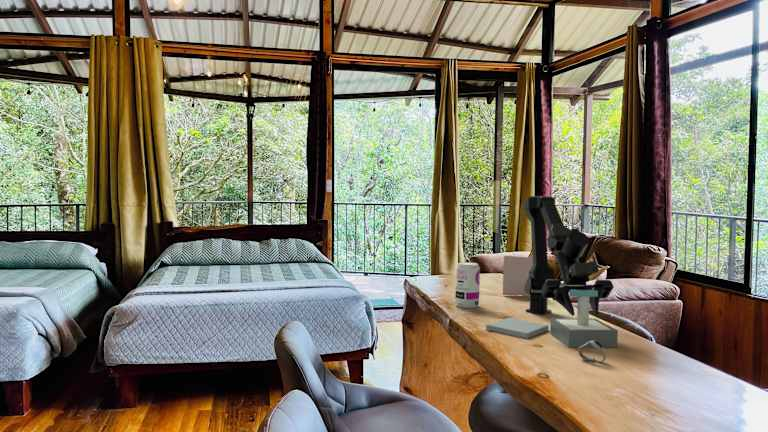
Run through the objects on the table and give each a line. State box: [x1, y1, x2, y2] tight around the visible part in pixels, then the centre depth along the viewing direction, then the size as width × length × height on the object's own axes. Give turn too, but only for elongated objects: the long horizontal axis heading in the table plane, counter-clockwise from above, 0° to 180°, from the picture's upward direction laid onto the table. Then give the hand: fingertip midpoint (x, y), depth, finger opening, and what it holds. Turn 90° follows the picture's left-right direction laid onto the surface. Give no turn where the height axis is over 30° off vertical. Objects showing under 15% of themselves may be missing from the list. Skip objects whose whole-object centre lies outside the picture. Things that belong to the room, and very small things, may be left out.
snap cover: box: [555, 290, 612, 330], centre depth 145 cm, size 11×11×10 cm
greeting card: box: [502, 255, 533, 297], centre depth 208 cm, size 11×7×15 cm, turn 58°
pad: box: [485, 317, 550, 339], centre depth 156 cm, size 13×13×2 cm
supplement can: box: [454, 261, 481, 309], centre depth 187 cm, size 8×8×15 cm
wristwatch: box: [578, 341, 607, 364], centre depth 128 cm, size 4×6×5 cm, turn 58°
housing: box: [549, 317, 619, 348], centre depth 145 cm, size 13×13×4 cm
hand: (585, 315), depth 144 cm, fingers closed on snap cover, 6 cm apart
